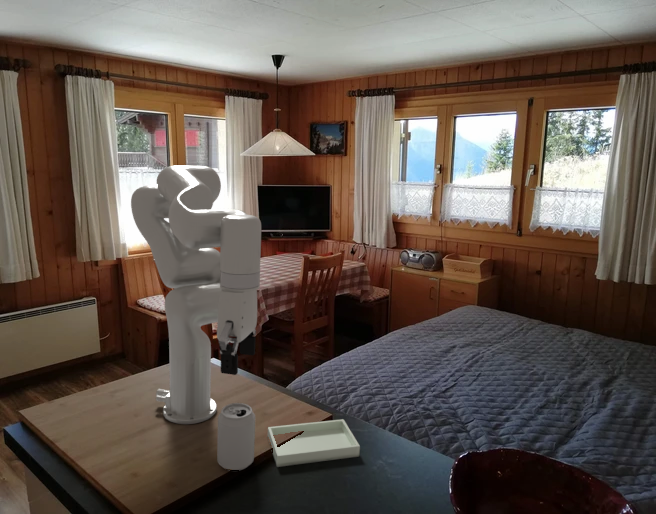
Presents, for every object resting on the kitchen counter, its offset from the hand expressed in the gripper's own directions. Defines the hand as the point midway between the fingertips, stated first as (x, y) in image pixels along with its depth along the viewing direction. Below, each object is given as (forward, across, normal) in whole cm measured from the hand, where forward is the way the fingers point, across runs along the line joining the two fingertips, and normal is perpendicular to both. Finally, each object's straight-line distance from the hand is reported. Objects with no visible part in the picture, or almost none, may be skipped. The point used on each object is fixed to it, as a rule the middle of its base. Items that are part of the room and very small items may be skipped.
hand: (238, 363), depth 101 cm
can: (+22, 0, 0) cm, 22 cm away
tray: (+22, -10, +14) cm, 28 cm away
